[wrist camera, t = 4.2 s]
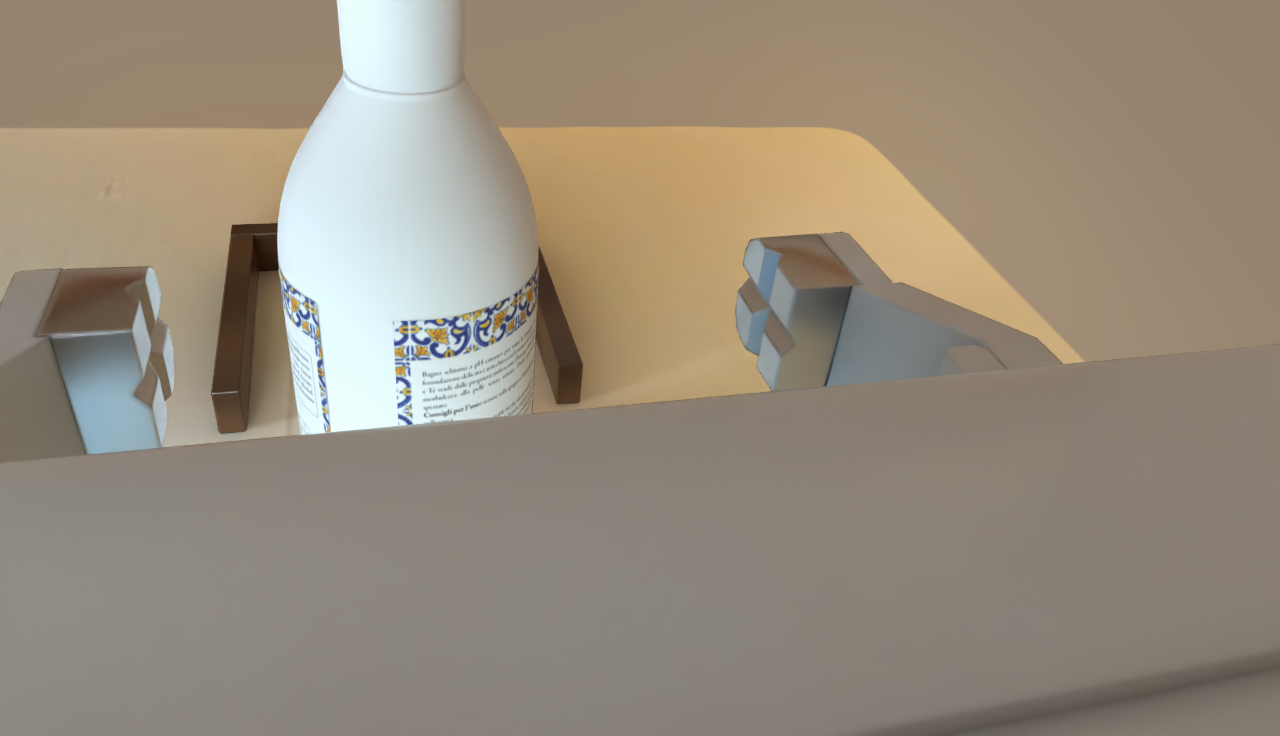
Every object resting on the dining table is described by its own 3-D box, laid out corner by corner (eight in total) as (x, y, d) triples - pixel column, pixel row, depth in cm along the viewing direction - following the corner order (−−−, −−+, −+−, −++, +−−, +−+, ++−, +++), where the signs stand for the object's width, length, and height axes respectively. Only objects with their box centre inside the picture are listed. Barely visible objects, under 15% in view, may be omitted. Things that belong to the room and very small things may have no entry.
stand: (580, 403, 41) (583, 364, 39) (218, 434, 37) (210, 392, 36) (526, 248, 51) (527, 214, 49) (237, 261, 47) (231, 224, 46)
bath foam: (553, 504, 36) (593, -84, 24) (479, 651, 30) (485, -19, 18) (378, 457, 37) (335, -128, 25) (276, 592, 31) (160, -78, 19)
